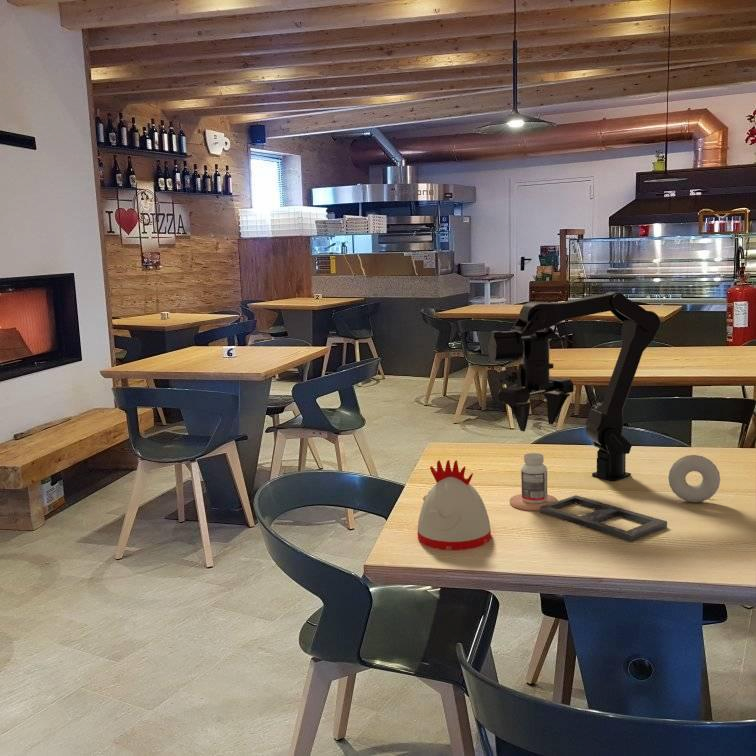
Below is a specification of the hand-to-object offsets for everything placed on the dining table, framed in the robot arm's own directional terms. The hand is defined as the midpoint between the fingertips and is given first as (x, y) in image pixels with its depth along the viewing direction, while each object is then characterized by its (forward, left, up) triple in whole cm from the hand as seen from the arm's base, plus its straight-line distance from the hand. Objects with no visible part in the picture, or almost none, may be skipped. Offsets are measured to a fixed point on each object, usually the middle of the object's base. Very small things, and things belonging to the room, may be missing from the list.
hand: (537, 427), depth 180 cm
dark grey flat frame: (+9, +25, -13) cm, 30 cm away
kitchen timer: (+36, +12, -13) cm, 40 cm away
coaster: (+11, +9, -13) cm, 19 cm away
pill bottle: (+11, +9, -13) cm, 19 cm away
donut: (-13, +31, -13) cm, 36 cm away
